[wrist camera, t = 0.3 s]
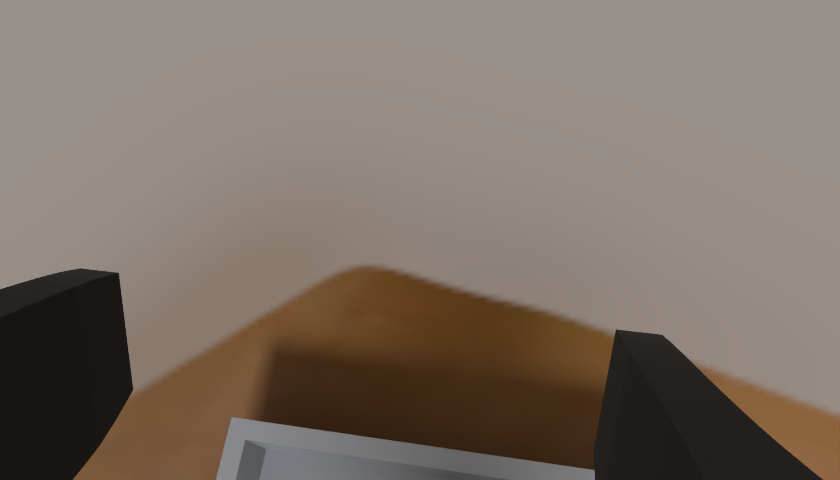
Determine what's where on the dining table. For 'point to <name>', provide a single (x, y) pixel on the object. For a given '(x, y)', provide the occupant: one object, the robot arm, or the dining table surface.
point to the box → (364, 458)
